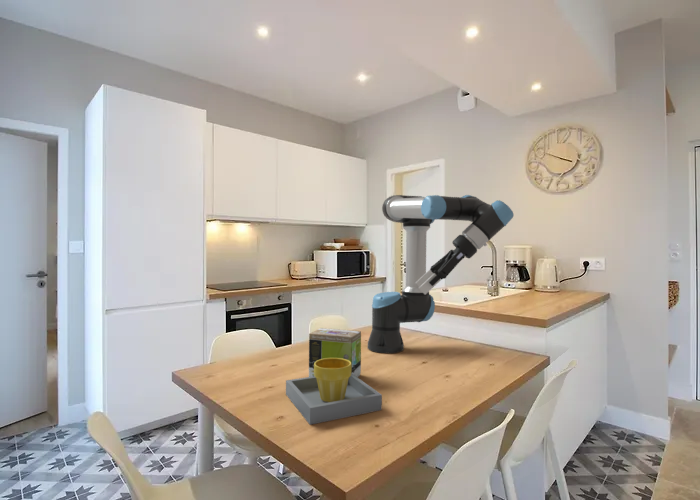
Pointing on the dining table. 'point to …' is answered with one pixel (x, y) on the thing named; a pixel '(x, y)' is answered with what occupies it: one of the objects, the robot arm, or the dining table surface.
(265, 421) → the dining table surface
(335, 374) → the plant pot
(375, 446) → the dining table surface
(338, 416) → the serving tray
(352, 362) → the tea box
